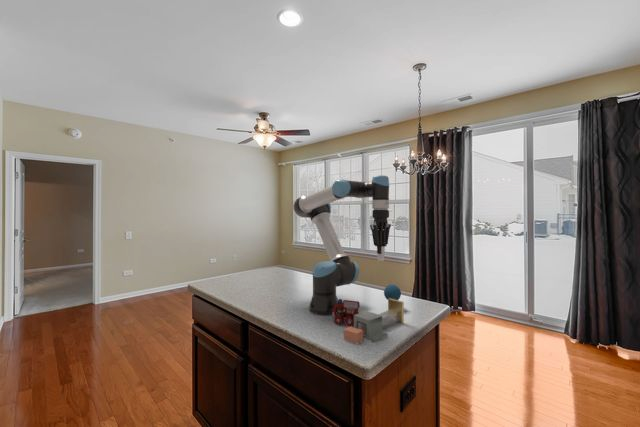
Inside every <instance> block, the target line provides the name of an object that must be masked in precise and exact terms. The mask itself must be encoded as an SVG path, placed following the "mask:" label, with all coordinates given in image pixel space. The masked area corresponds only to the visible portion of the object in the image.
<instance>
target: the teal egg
mask: <svg viewBox="0 0 640 427" xmlns="http://www.w3.org/2000/svg"><path fill="white" fill-rule="evenodd" d="M383 295H384V297H385V299H386V300H387V301H388V299H390V298H391V299H395V300H399V301H400V299H401V296H402V292H401V289H400V288H399V286H398V285H396V284H388V285H387V286H385V288H384V290H383Z"/></svg>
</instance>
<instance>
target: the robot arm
mask: <svg viewBox="0 0 640 427" xmlns="http://www.w3.org/2000/svg"><path fill="white" fill-rule="evenodd" d="M389 197H390V179H389V176H387V175H374V176H373V177H372V180H371V181H358V180H347V179H337V180H335V181H334V182H333V184H332V185H330V186H328V187H326V188H323V189H321V190H319V191H316V192H314V193H311V194H309V195H302V196H299V197H298V198H297V199H295V200H294V203H293V210H294V213H295V214H296V215H297V216H298V217H300V218H309V219H310V221H311V223H312V224H313V225H315V226H316V229H317V231H318V233H319V236H320V238H321V241H322V244H323V246H324V248H325V251H326V253H327V256H328V258H329V260H330V261H329V260H327V261H320V262H317V263H315V264H314V265H313V266H312V267H313V268H312V296H311V299H310V303H309V306H308V310H309V312H311V313H312V314H315V315H320V316H330V315H331V316H332V310H333V308H334V306H335V304H336V303H337V302H338V300H339V299H338V296H337V287H342V286H345V285H347V286H348V285H351V284H354V283H356V281H357V280H358V278H359V275H360V267H359V265H358V263H357V262H355V261H353V260H351V258H350V256H349V255H347V254H345V251H344V249H343V247H342V245H341V242H340V240H339V238H338V235H337V233H336V230H335V229H334V227H333V224H332V222H331V219H330V217H331V213H332V206H331V203H333V202H335V201H339V200H341V199H345V198H356V199H364V198H365V199H366V198H372V199H371V200H372V202H371V204H372V210H371V211H372V212H371V214H372V218H373V224H370V225H369V228H370V230H371V235H372V236H371V237H372V242H373V246H375V247H376V253H377V259H376V260H377V261H380V262H384V261H385V250H386V248H385V247H387V245H388V244H389V236H390V230H391V227H392V225H391V223H390V224H389V221H388V219H389V218H390V210H389V209H390V198H389ZM338 307H339V306H338ZM338 307H337V308H338ZM337 312H338V311H337ZM337 312H336V313H337Z"/></svg>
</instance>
